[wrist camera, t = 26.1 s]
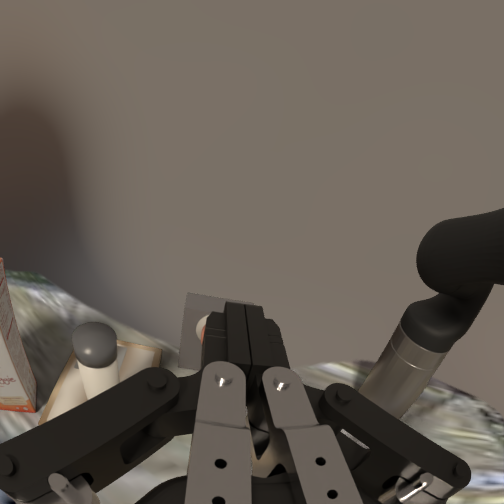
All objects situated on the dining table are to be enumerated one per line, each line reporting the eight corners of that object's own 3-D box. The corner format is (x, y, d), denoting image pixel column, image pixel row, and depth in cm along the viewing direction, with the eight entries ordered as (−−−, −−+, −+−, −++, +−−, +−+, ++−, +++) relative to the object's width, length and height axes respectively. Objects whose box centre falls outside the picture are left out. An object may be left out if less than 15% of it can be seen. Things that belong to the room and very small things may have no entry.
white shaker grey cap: (129, 406, 31) (122, 327, 26) (122, 433, 27) (108, 358, 22) (97, 398, 30) (81, 317, 25) (88, 424, 26) (64, 346, 21)
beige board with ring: (161, 355, 44) (161, 348, 43) (141, 461, 25) (140, 455, 25) (84, 337, 41) (83, 330, 41) (41, 429, 23) (37, 423, 23)
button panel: (237, 358, 48) (253, 302, 43) (239, 376, 44) (256, 319, 39) (180, 350, 46) (187, 292, 42) (177, 368, 42) (184, 308, 38)
